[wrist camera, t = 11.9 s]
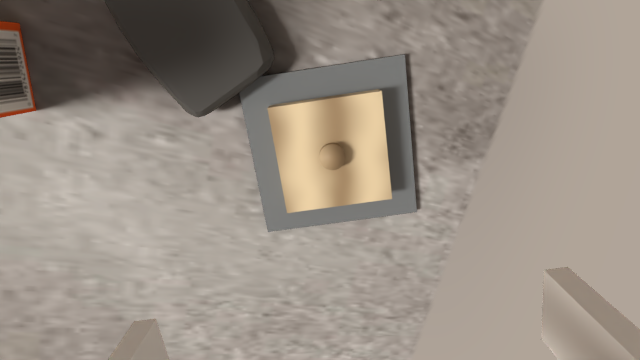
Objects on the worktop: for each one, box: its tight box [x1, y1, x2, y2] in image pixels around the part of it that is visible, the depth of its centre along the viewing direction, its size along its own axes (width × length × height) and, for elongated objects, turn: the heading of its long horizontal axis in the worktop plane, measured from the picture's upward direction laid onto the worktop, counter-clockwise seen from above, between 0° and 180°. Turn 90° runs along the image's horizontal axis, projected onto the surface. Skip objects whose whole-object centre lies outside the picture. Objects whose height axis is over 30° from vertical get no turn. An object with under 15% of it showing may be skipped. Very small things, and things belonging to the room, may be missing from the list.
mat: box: [239, 55, 417, 232], centre depth 39 cm, size 16×16×1 cm
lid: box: [267, 89, 392, 213], centre depth 37 cm, size 10×10×3 cm
